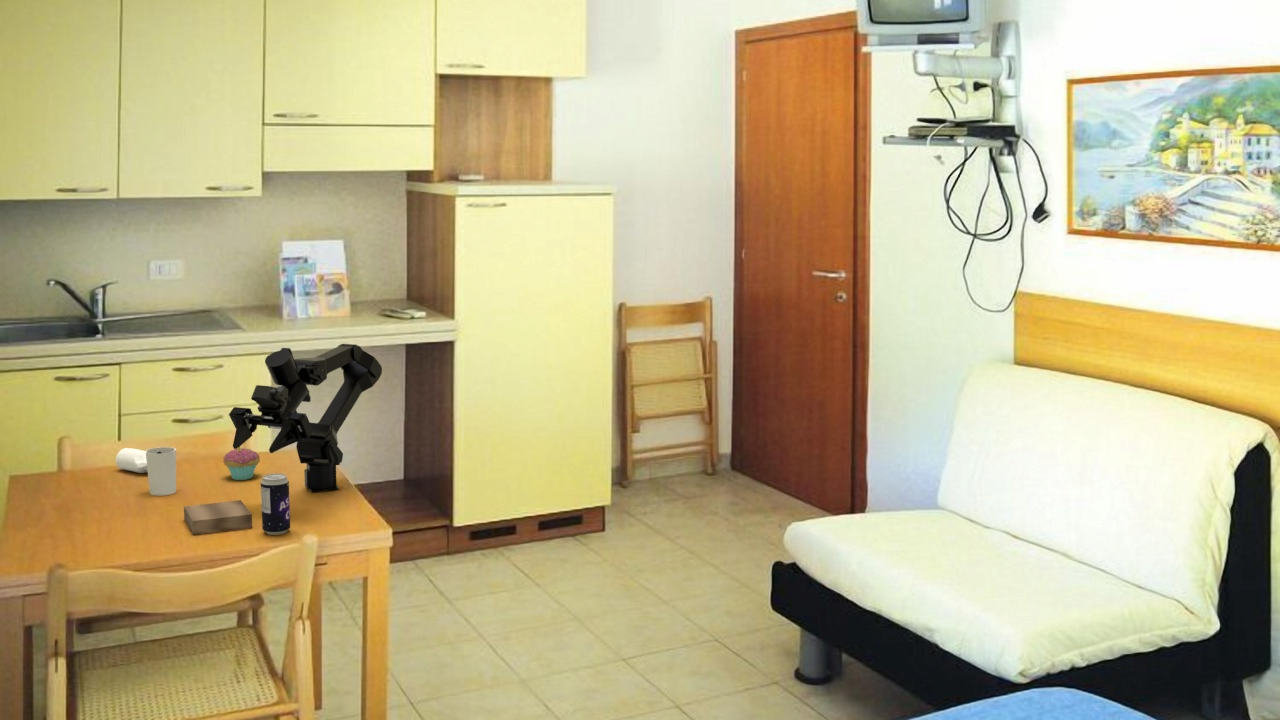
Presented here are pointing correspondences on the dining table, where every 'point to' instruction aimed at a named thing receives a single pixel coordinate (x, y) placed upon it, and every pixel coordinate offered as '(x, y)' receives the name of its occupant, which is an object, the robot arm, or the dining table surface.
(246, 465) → the cupcake
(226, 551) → the dining table surface
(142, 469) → the roll
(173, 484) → the grey cylinder
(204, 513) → the walnut base
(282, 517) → the beverage can
